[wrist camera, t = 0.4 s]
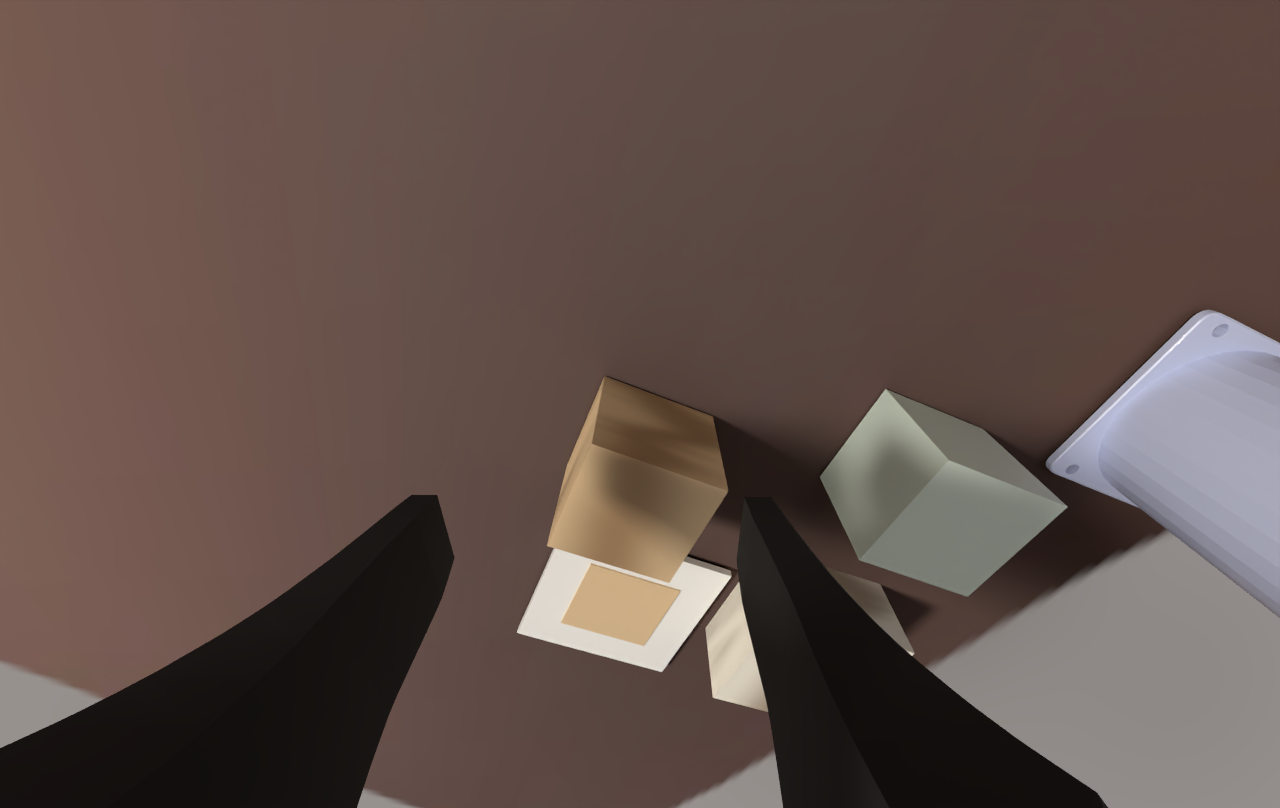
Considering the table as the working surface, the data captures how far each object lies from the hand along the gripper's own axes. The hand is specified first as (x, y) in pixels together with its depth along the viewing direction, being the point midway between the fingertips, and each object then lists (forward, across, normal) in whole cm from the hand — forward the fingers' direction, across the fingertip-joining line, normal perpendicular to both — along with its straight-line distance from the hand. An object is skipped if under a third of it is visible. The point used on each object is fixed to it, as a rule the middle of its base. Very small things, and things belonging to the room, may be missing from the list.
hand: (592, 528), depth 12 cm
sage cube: (+10, -12, +5) cm, 16 cm away
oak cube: (+10, -1, +4) cm, 10 cm away
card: (+10, 0, +14) cm, 17 cm away
